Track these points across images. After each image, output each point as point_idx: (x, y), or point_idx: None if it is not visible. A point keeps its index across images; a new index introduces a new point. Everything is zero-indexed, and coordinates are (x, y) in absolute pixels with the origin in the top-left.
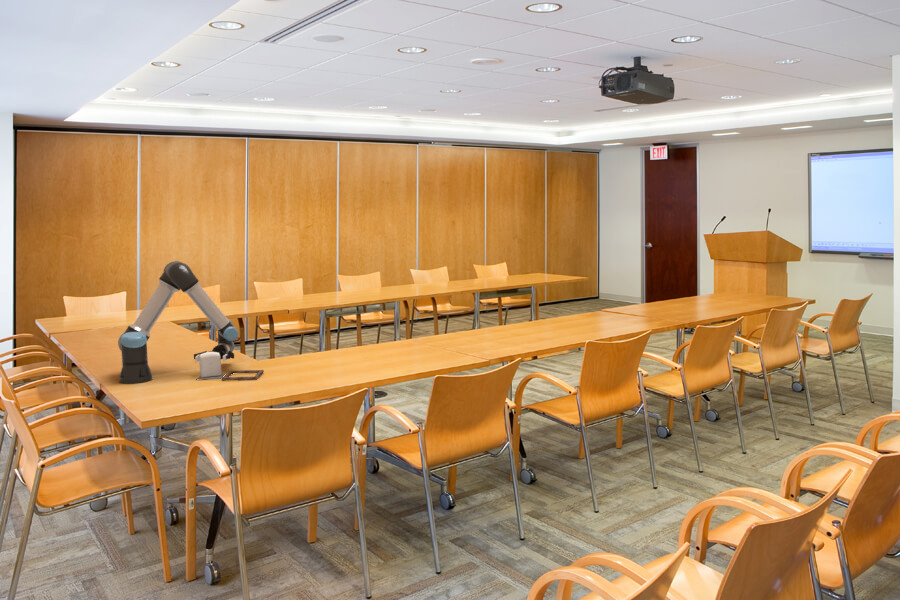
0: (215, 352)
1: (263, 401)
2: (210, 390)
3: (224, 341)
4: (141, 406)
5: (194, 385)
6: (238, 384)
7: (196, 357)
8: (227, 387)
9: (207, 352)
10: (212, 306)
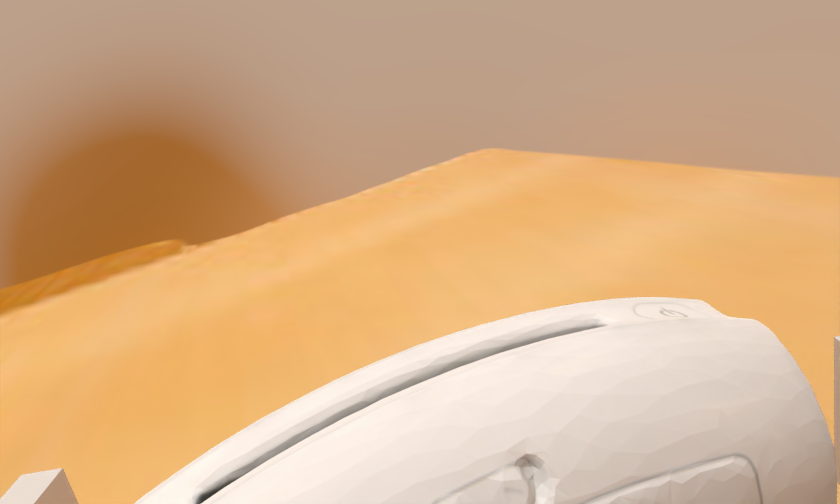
0: (230, 437)
1: (78, 283)
2: (346, 339)
3: None
4: (600, 172)
5: None
6: (99, 490)
7: (837, 353)
8: (216, 406)
9: (523, 348)
10: None
